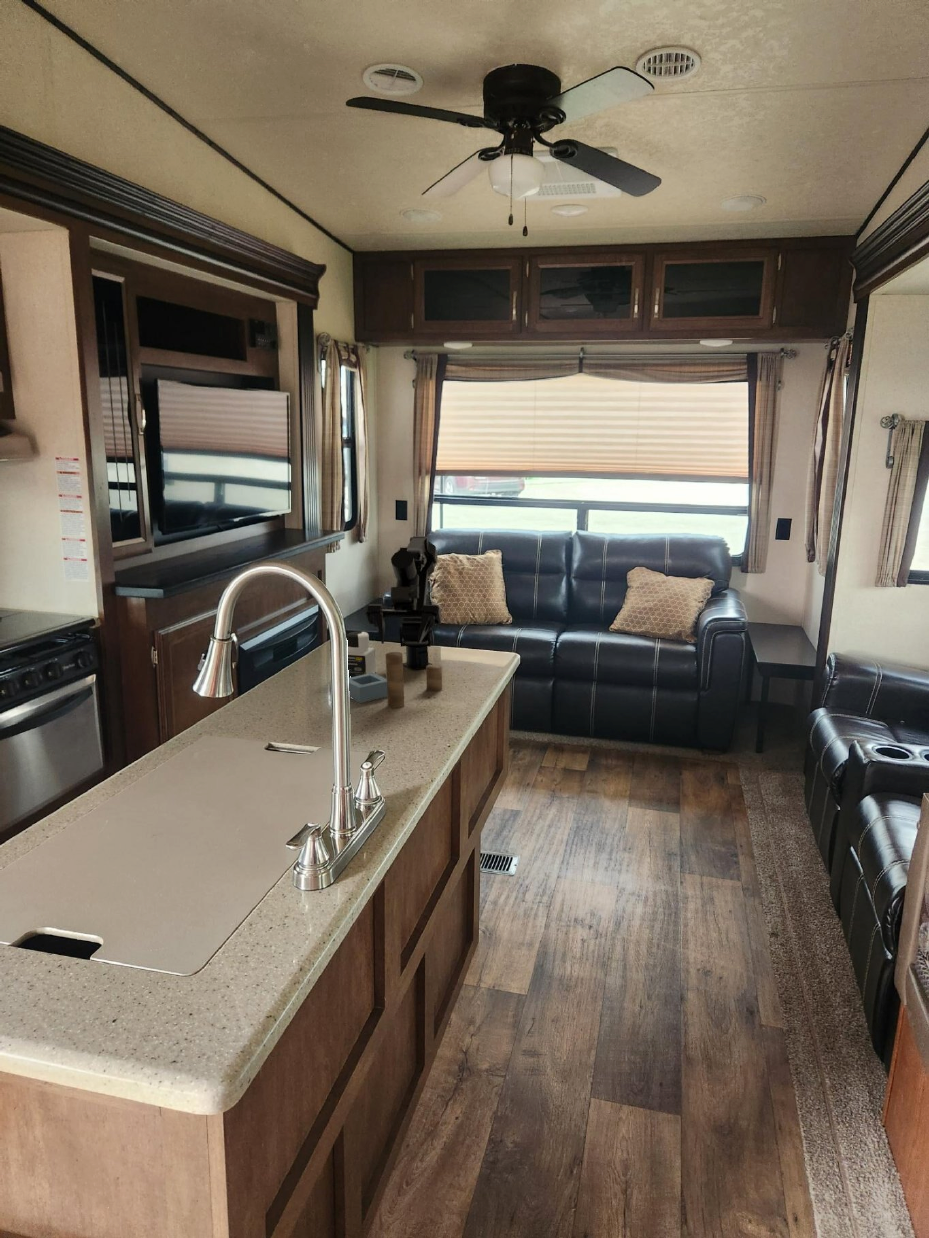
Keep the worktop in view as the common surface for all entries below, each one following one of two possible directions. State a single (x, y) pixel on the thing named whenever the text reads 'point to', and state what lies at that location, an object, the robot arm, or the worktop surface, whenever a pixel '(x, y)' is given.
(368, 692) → the socket block
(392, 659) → the tall pin
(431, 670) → the short pin
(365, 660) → the medicine bottle
